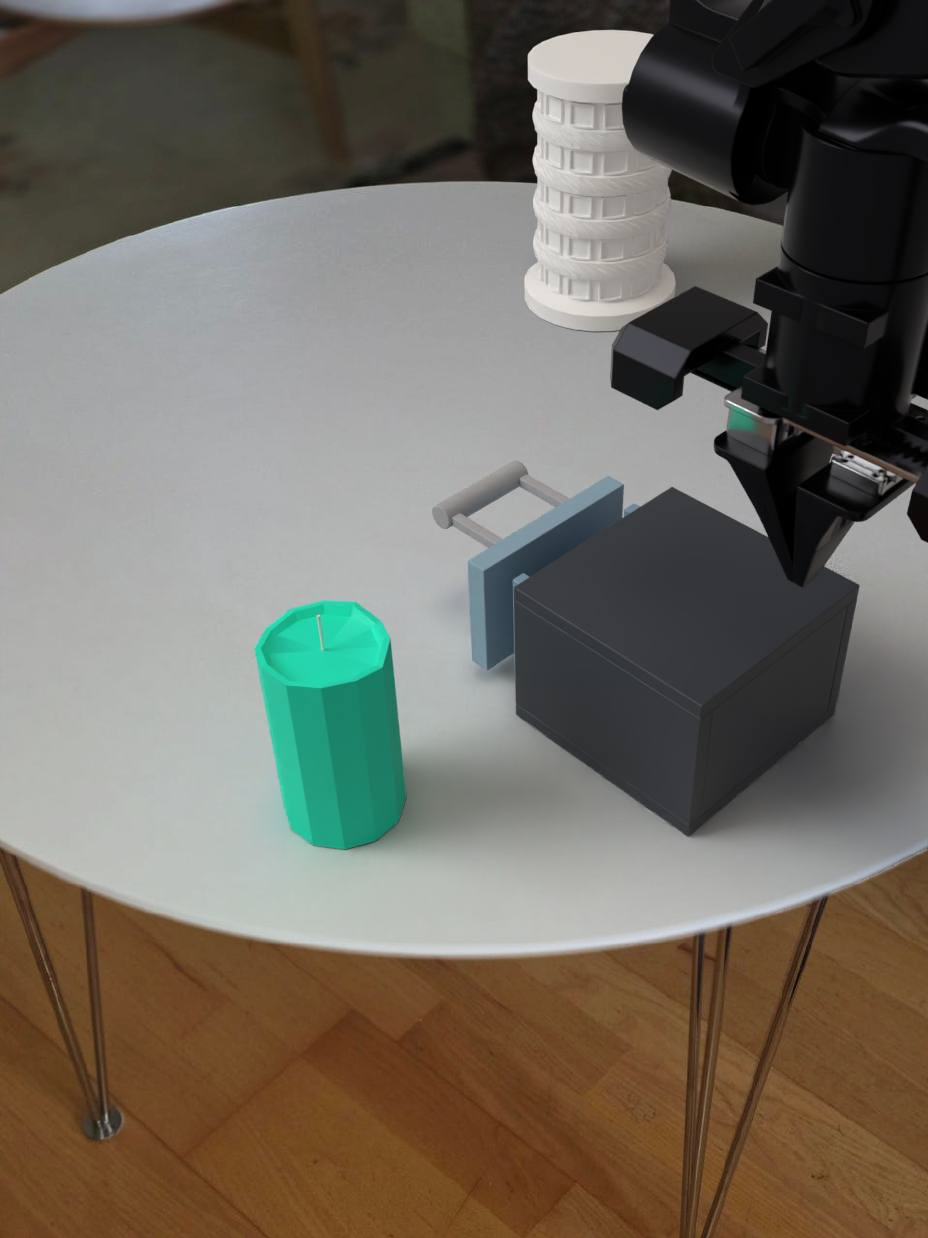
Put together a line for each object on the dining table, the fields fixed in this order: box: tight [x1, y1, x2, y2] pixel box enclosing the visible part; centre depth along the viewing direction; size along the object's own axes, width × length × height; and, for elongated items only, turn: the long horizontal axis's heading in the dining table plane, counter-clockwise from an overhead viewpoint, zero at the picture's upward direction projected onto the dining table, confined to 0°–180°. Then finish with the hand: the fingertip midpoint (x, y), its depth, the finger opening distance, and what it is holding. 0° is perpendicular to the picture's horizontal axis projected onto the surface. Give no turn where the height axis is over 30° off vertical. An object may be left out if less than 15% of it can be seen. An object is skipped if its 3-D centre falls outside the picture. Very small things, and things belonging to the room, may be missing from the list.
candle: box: [253, 599, 407, 850], centre depth 63 cm, size 6×6×12 cm
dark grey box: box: [514, 486, 860, 837], centre depth 68 cm, size 12×12×9 cm
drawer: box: [431, 460, 641, 673], centre depth 72 cm, size 16×10×7 cm, turn 43°
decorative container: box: [524, 29, 677, 332], centre depth 100 cm, size 12×12×18 cm
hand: (801, 579), depth 60 cm, fingers closed
